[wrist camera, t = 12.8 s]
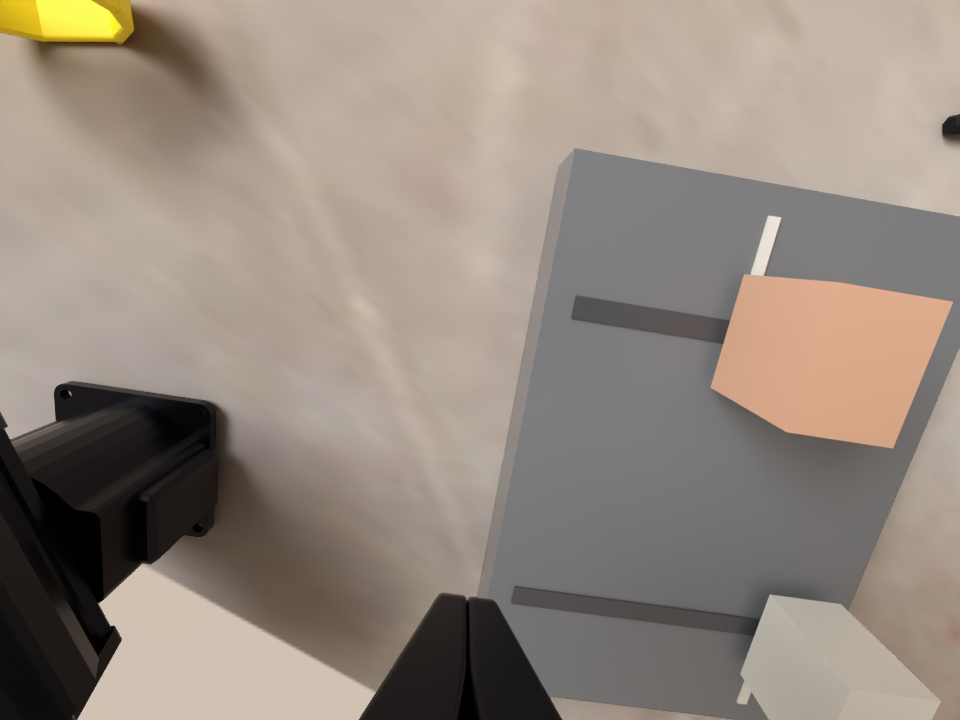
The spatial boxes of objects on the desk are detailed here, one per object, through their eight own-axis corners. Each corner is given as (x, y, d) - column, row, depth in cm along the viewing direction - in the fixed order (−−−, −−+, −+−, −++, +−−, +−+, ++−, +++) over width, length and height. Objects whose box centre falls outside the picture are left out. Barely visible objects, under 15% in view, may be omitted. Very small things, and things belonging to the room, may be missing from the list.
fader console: (471, 630, 22) (470, 688, 19) (558, 165, 17) (575, 147, 14) (757, 667, 23) (799, 729, 20) (924, 229, 18) (1014, 225, 15)
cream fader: (739, 673, 19) (809, 784, 15) (769, 594, 18) (850, 689, 14) (808, 682, 19) (893, 793, 15) (841, 603, 18) (941, 701, 14)
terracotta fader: (710, 387, 16) (786, 432, 12) (743, 274, 15) (838, 282, 11) (791, 400, 16) (892, 448, 12) (829, 288, 15) (953, 301, 11)
